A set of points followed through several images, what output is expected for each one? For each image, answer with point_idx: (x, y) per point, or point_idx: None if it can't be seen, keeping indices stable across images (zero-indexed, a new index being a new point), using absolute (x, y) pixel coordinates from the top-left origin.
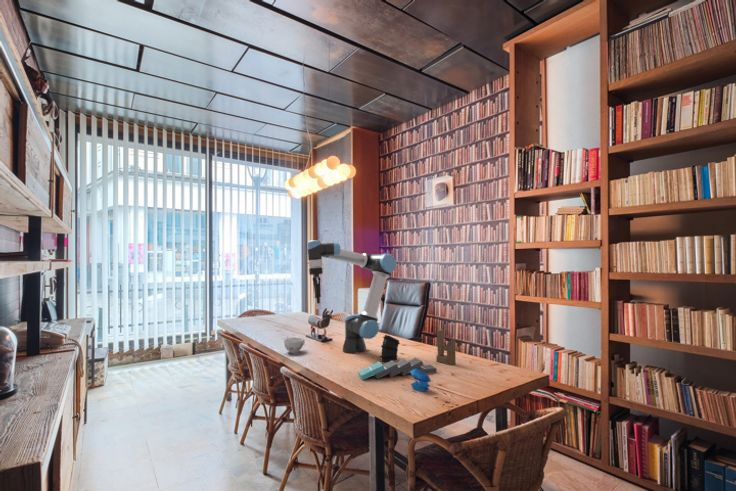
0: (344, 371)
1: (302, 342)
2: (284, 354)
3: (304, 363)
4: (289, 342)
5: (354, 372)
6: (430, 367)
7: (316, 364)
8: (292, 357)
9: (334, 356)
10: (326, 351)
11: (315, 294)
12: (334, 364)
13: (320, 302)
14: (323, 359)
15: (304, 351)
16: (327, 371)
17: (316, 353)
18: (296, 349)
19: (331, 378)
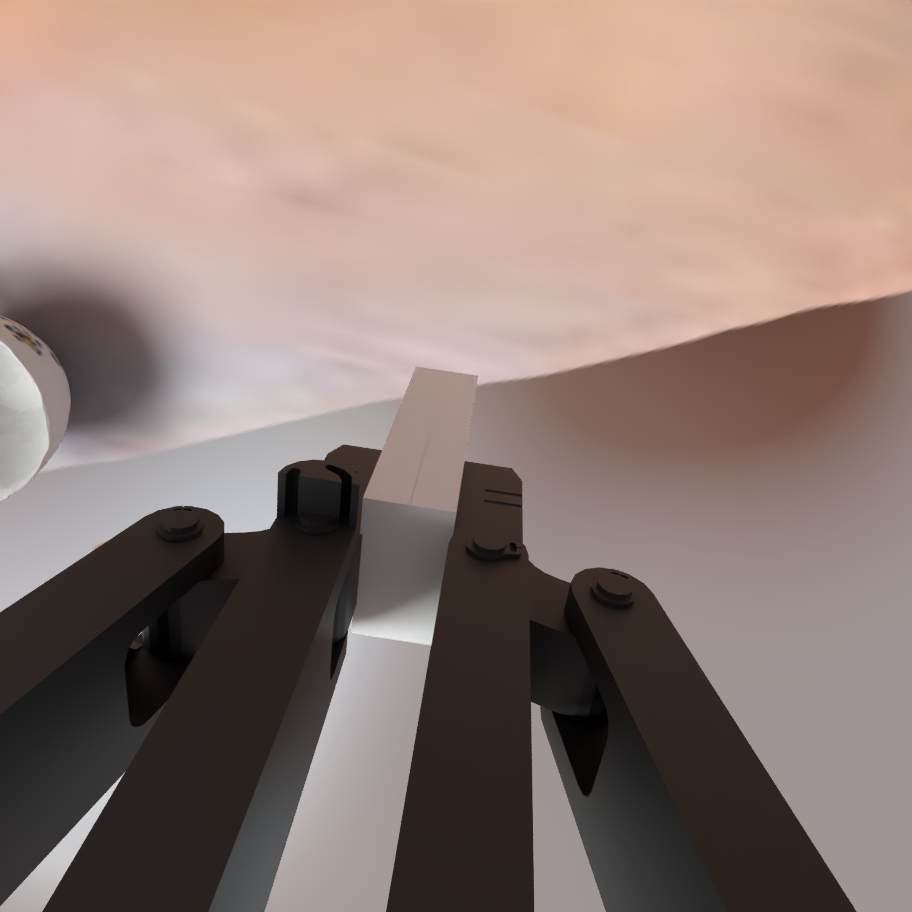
0: (804, 112)
1: (5, 331)
2: (85, 462)
3: None
4: (40, 466)
5: (886, 28)
6: None
7: (483, 289)
8: (199, 422)
9: (285, 42)
10: (66, 66)
11: (331, 695)
12: (556, 133)
13: (466, 442)
14: (353, 185)
15: (19, 282)
16: (720, 256)
17: (120, 191)
18: (66, 378)
19: (907, 279)
